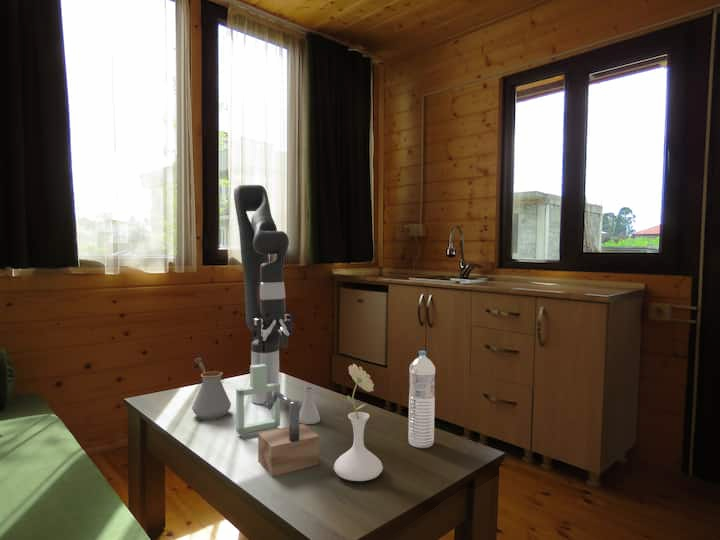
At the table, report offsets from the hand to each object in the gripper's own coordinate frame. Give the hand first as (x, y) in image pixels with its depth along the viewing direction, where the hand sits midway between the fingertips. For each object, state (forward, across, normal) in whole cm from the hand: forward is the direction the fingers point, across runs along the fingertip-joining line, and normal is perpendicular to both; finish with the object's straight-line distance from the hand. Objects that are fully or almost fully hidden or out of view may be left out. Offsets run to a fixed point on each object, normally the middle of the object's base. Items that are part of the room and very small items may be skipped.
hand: (274, 350), depth 142 cm
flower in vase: (+23, +11, +40) cm, 47 cm away
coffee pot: (+20, +9, -22) cm, 31 cm away
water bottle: (+23, -12, +44) cm, 51 cm away
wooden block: (+22, +18, +24) cm, 37 cm away
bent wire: (+15, +16, +19) cm, 29 cm away
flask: (+21, -5, +9) cm, 24 cm away
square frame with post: (+21, +10, +4) cm, 24 cm away
